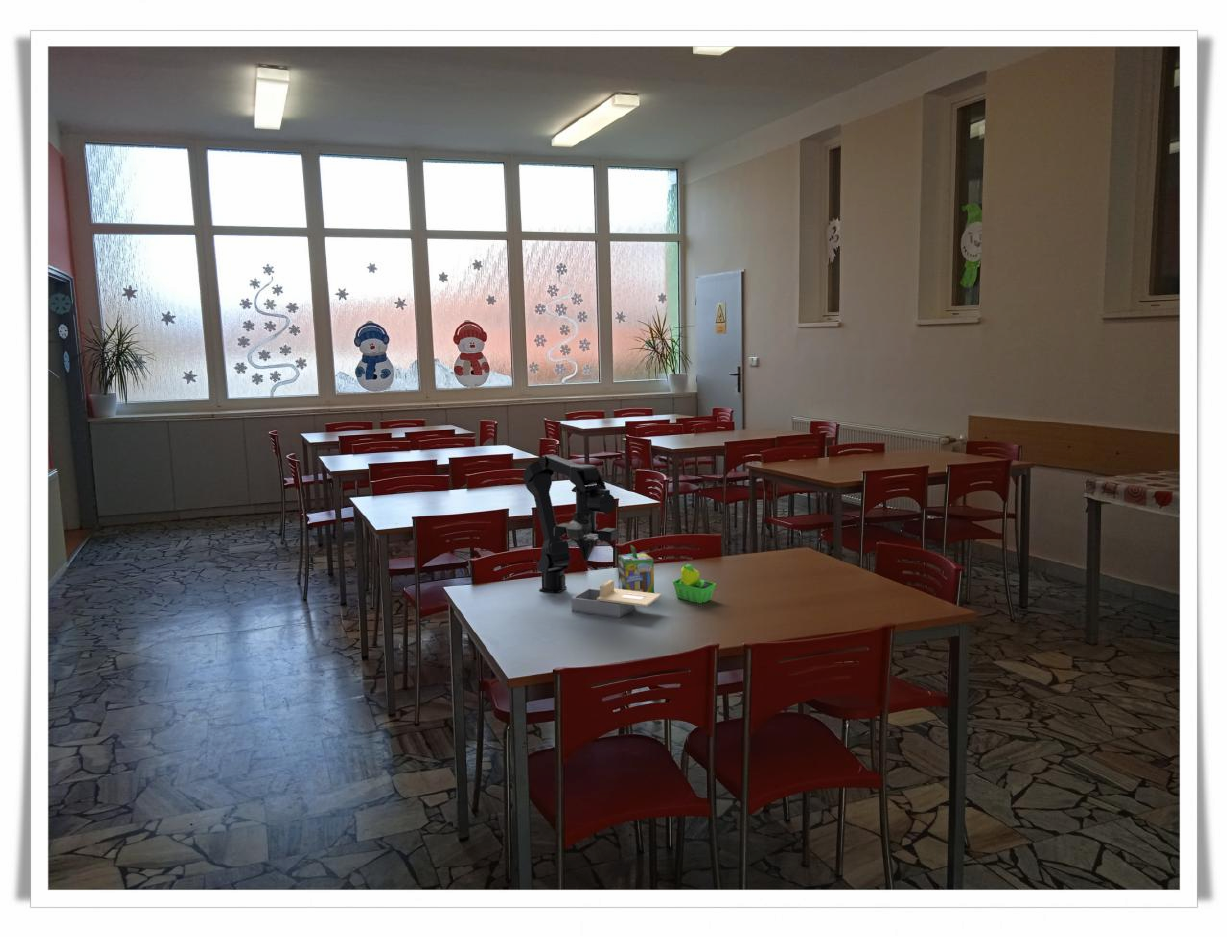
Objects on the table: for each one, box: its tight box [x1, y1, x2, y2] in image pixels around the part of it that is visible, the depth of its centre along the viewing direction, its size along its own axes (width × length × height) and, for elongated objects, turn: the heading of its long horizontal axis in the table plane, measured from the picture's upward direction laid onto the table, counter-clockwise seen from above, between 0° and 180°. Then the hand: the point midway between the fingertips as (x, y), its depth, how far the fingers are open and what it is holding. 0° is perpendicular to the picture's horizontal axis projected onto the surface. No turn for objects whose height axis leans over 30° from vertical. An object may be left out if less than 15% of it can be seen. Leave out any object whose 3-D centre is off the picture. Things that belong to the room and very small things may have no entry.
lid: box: [597, 579, 662, 607], centre depth 239 cm, size 15×11×4 cm
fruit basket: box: [672, 563, 717, 604], centre depth 253 cm, size 11×9×11 cm
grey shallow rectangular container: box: [571, 587, 636, 619], centre depth 243 cm, size 15×11×4 cm
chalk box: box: [617, 544, 655, 593], centre depth 259 cm, size 9×9×15 cm
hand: (585, 560), depth 249 cm, fingers closed
